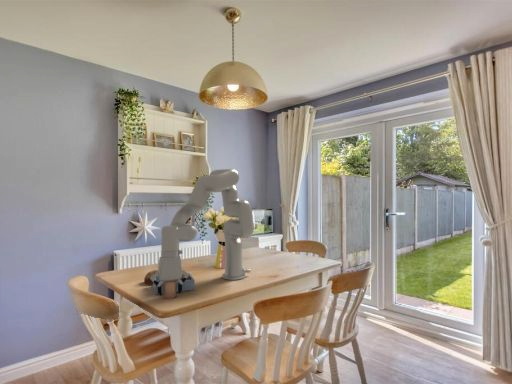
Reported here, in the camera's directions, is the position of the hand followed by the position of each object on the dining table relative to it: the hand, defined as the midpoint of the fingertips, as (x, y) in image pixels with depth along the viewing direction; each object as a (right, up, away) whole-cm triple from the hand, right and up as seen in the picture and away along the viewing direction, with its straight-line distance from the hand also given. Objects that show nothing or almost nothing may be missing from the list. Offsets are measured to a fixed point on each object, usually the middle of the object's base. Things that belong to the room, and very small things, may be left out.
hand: (169, 293), depth 134 cm
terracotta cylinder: (0, -1, 0) cm, 1 cm away
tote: (-2, -1, +12) cm, 12 cm away
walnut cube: (+2, -1, +14) cm, 14 cm away
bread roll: (-14, -2, +22) cm, 26 cm away
